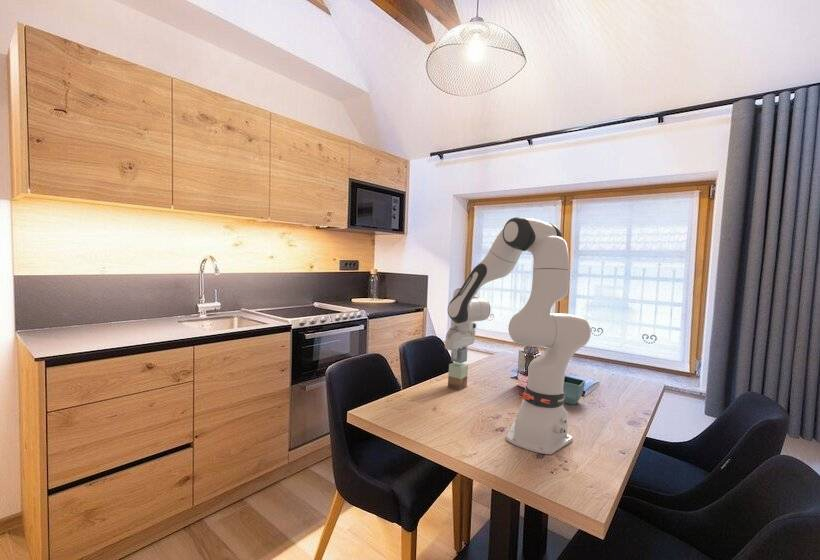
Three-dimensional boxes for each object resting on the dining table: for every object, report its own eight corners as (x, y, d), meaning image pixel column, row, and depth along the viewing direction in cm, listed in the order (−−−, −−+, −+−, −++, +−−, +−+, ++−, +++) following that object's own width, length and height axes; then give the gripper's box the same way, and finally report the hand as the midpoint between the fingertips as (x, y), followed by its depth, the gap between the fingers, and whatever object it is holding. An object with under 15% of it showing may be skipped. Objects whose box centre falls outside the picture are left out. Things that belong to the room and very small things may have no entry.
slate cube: (461, 363, 159) (461, 351, 159) (450, 360, 162) (451, 349, 162) (466, 361, 163) (467, 349, 163) (456, 358, 166) (457, 347, 166)
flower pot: (578, 408, 146) (580, 385, 146) (555, 402, 151) (556, 380, 151) (583, 402, 153) (585, 380, 153) (561, 396, 158) (562, 375, 158)
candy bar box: (542, 392, 162) (544, 354, 161) (532, 393, 160) (535, 355, 159) (524, 384, 172) (527, 348, 171) (515, 385, 170) (518, 349, 169)
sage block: (460, 379, 159) (461, 367, 159) (448, 375, 162) (449, 364, 162) (467, 375, 164) (468, 364, 164) (455, 372, 167) (455, 361, 167)
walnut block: (460, 390, 159) (460, 379, 159) (447, 387, 163) (448, 375, 163) (466, 387, 164) (467, 375, 164) (454, 384, 168) (455, 372, 167)
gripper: (455, 329, 152) (453, 363, 152) (478, 323, 168) (476, 354, 169) (442, 326, 155) (440, 360, 156) (465, 322, 172) (463, 352, 173)
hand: (459, 357), depth 163 cm, fingers closed on slate cube, 5 cm apart
